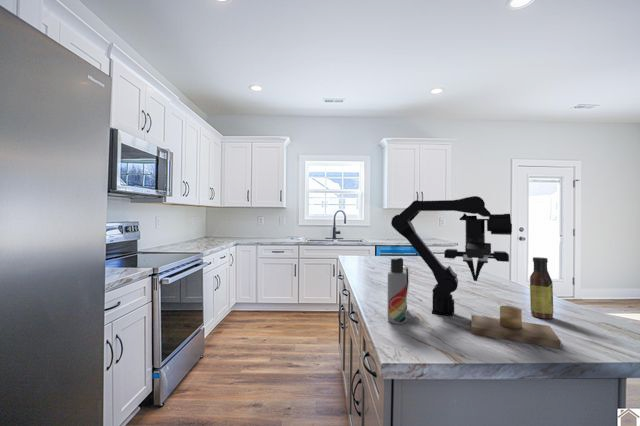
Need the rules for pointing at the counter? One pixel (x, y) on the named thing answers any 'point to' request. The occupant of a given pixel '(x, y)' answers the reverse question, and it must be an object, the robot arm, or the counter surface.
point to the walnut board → (515, 331)
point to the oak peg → (511, 317)
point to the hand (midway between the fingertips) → (475, 280)
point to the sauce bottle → (541, 290)
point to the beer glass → (406, 270)
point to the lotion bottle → (397, 292)
